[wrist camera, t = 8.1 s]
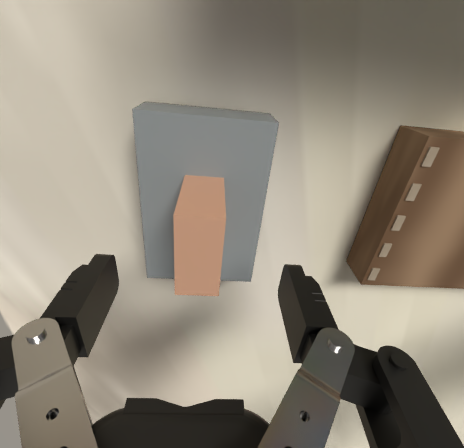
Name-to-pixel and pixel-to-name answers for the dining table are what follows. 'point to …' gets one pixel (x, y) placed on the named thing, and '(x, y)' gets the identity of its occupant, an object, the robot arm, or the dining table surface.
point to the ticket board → (415, 214)
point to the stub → (202, 191)
